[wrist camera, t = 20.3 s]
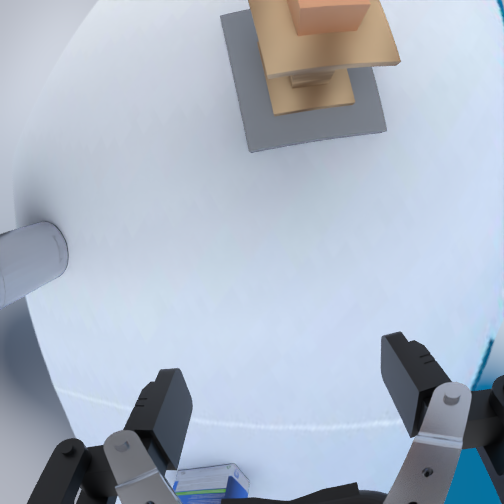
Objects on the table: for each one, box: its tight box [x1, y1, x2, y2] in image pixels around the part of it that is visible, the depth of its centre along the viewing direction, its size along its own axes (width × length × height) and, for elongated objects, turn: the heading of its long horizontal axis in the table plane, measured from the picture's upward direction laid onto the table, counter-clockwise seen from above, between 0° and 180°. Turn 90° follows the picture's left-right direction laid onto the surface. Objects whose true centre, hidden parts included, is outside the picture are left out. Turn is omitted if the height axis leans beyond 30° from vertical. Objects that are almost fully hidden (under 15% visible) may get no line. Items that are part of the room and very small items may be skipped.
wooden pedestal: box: [248, 0, 401, 117], centre depth 24 cm, size 9×9×16 cm
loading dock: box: [220, 9, 387, 153], centre depth 32 cm, size 16×18×2 cm
